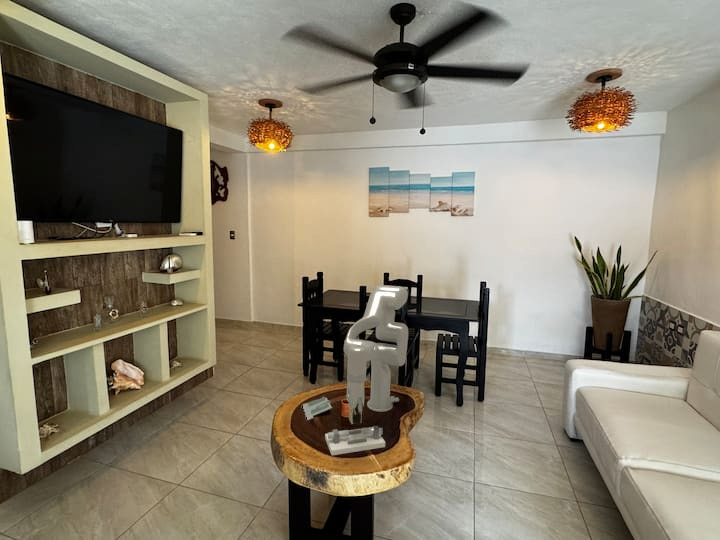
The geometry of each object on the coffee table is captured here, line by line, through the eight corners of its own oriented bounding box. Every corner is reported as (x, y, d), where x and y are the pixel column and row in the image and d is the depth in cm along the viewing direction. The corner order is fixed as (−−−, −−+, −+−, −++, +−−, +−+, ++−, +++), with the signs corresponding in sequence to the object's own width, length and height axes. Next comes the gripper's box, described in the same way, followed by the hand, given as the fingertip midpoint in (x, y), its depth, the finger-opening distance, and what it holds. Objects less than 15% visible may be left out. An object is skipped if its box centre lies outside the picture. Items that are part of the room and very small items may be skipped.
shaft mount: (375, 431, 157) (375, 418, 157) (385, 446, 146) (385, 433, 145) (325, 438, 151) (325, 425, 150) (331, 455, 140) (331, 441, 139)
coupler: (360, 417, 150) (360, 401, 149) (363, 422, 146) (363, 405, 146) (347, 419, 148) (347, 402, 148) (349, 424, 144) (350, 407, 144)
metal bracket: (326, 391, 182) (333, 405, 168) (329, 402, 183) (336, 416, 169) (298, 402, 178) (303, 418, 164) (301, 413, 179) (307, 429, 165)
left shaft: (362, 439, 147) (362, 430, 147) (362, 434, 151) (362, 425, 151) (382, 439, 148) (382, 430, 147) (381, 434, 151) (382, 425, 151)
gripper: (342, 369, 152) (340, 411, 154) (353, 385, 136) (351, 432, 138) (359, 368, 155) (357, 409, 156) (372, 383, 139) (370, 429, 140)
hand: (355, 419), depth 147 cm, fingers closed on coupler, 4 cm apart
